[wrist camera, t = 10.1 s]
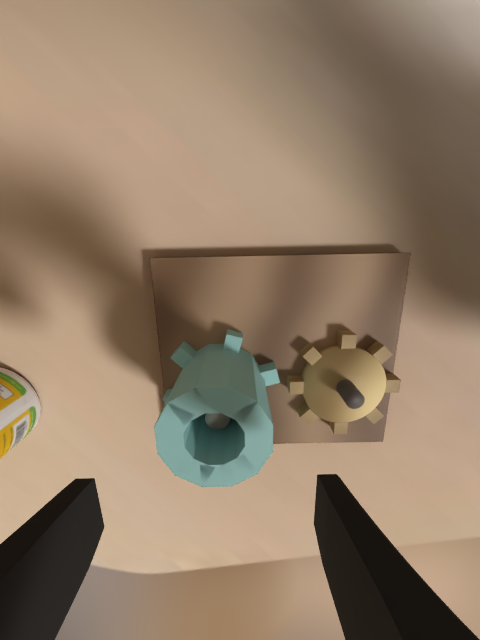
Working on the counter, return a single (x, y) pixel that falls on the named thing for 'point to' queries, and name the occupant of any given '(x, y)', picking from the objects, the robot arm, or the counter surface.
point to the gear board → (294, 333)
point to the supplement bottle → (16, 409)
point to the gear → (217, 397)
